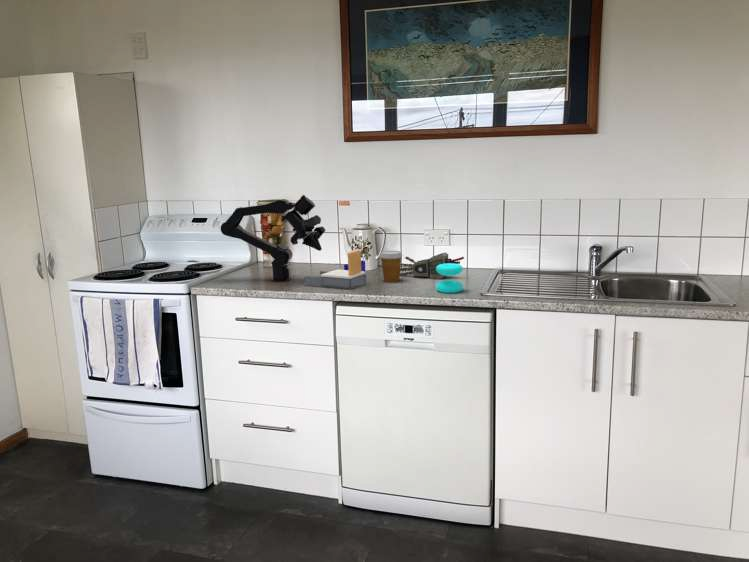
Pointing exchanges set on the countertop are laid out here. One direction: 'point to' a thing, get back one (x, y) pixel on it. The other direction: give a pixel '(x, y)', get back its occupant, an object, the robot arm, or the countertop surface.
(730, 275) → the countertop surface
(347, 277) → the lid
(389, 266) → the disposable coffee cup
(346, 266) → the cable clip
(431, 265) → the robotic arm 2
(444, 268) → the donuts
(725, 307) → the countertop surface
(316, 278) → the frame
